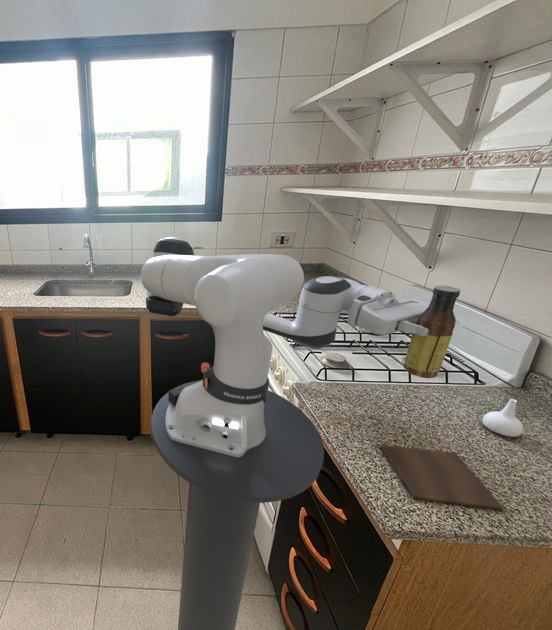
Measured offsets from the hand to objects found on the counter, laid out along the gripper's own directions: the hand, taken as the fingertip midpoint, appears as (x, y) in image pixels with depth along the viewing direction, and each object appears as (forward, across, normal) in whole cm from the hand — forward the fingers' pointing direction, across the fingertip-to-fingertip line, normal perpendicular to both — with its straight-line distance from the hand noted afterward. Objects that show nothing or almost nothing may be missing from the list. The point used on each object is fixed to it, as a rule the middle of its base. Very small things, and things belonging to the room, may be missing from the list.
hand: (439, 329), depth 72 cm
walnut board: (+13, +11, -24) cm, 29 cm away
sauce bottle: (-1, 0, -11) cm, 11 cm away
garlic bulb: (+10, -16, -24) cm, 31 cm away
